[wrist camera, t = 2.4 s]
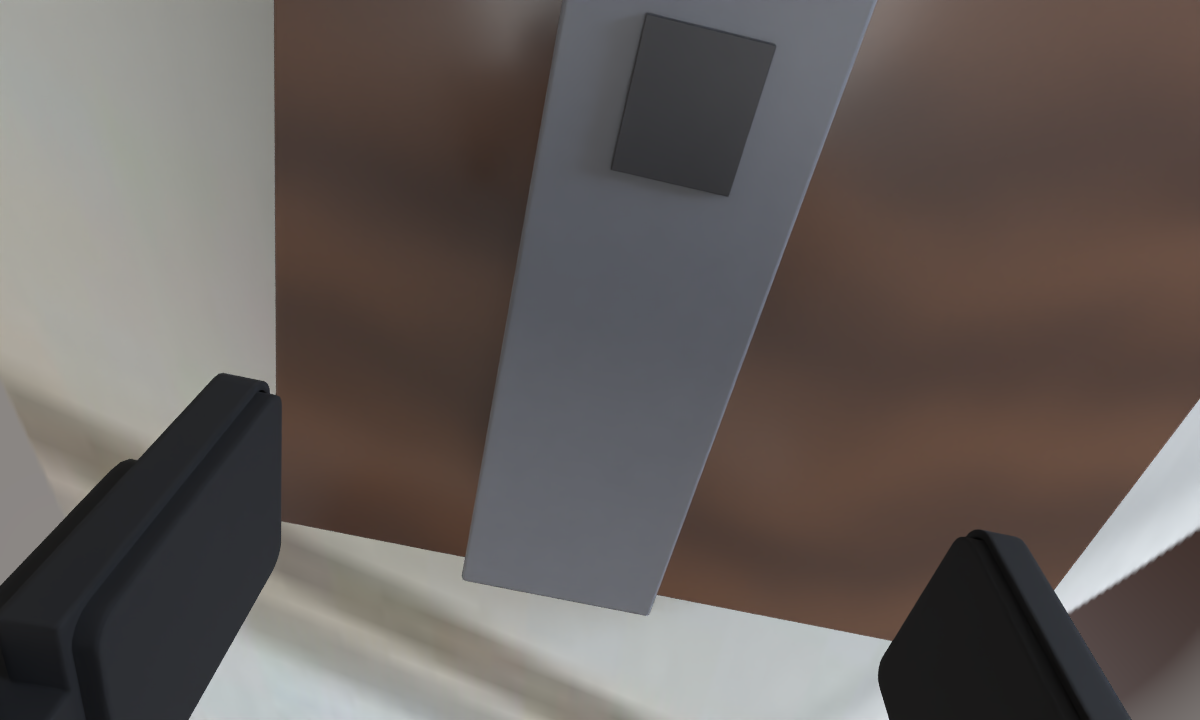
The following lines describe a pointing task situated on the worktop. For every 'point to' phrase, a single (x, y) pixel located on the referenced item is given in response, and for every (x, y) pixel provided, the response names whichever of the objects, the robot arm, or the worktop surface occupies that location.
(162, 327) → the worktop surface
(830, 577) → the shelf
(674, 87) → the grey long block
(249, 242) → the worktop surface
